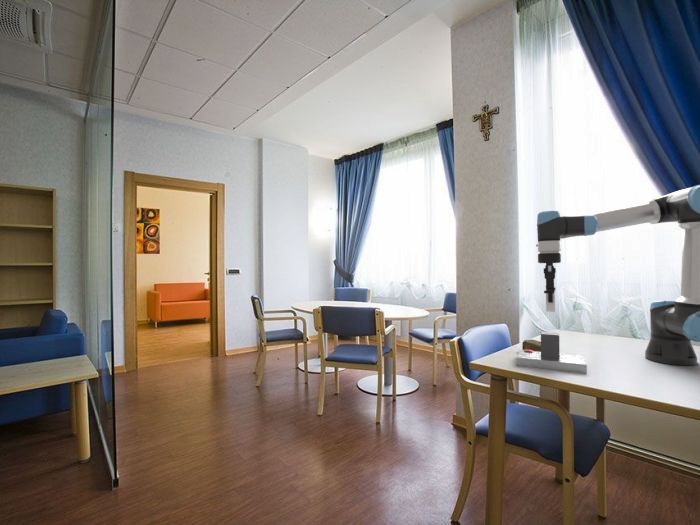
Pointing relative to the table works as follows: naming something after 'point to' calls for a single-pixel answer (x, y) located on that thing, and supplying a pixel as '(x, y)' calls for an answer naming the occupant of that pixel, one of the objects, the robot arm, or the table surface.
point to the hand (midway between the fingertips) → (550, 309)
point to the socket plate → (552, 361)
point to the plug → (550, 345)
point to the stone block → (532, 345)
